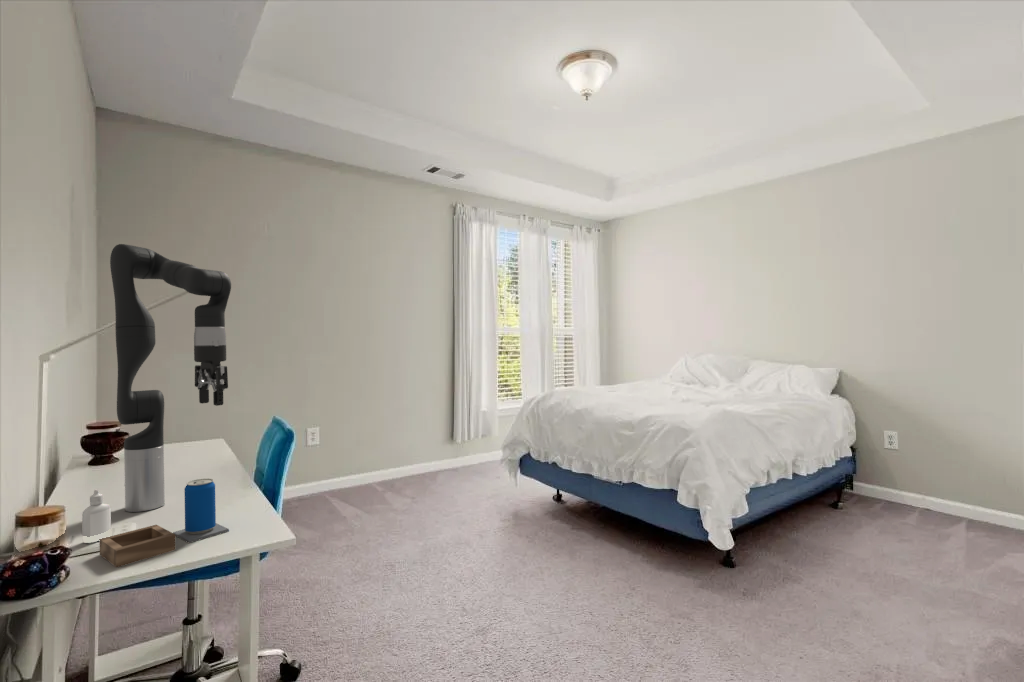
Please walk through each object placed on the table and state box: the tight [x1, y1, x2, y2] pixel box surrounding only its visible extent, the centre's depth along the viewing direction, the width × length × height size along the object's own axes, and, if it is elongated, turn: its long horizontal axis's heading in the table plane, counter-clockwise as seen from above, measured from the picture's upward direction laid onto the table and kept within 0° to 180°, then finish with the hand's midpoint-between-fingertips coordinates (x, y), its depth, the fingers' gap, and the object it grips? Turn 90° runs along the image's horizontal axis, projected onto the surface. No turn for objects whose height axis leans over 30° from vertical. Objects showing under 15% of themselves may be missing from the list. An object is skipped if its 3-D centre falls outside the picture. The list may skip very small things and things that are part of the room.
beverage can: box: [184, 478, 217, 534], centre depth 128 cm, size 6×6×12 cm
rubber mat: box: [172, 522, 230, 543], centre depth 128 cm, size 9×9×1 cm
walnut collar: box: [99, 524, 177, 568], centre depth 117 cm, size 11×11×4 cm
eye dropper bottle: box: [81, 488, 112, 537], centre depth 124 cm, size 4×6×12 cm
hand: (211, 404), depth 140 cm, fingers open, 8 cm apart
